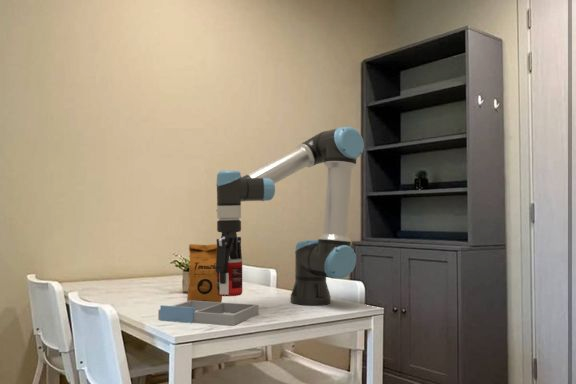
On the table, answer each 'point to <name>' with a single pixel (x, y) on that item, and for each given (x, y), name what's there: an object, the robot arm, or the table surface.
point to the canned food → (233, 278)
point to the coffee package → (203, 273)
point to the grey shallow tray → (208, 312)
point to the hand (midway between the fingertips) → (229, 292)
